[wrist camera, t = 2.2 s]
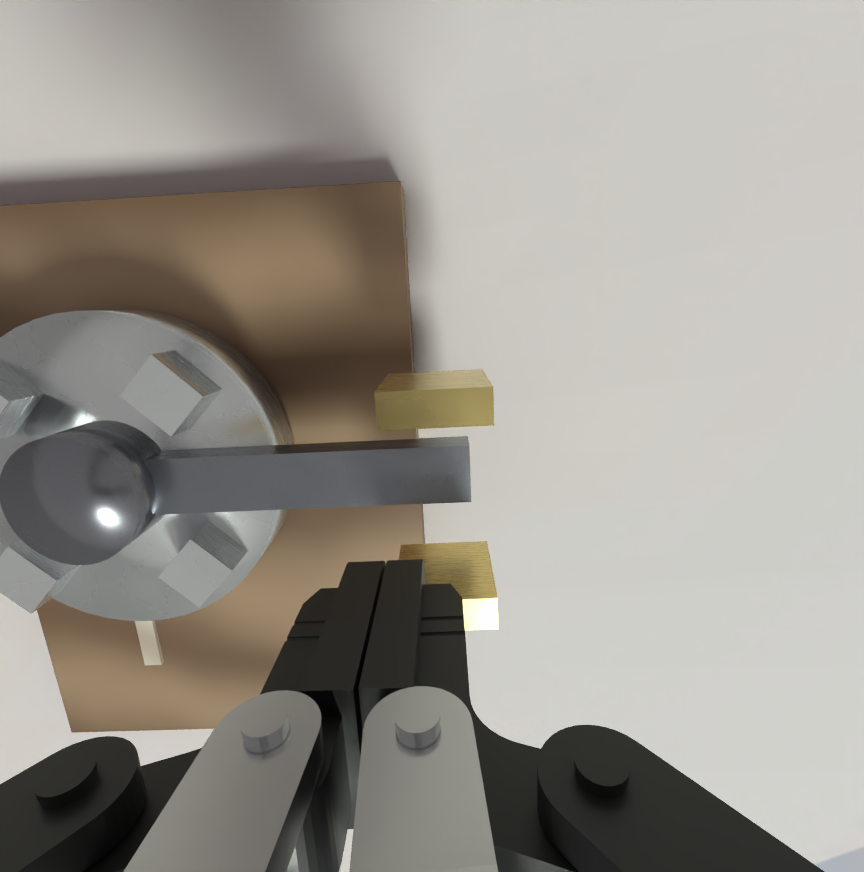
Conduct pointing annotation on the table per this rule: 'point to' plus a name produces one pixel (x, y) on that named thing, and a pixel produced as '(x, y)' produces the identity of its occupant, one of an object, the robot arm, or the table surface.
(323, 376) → the base plate
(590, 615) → the table surface
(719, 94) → the table surface
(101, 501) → the silver rotary lever
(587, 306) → the table surface
